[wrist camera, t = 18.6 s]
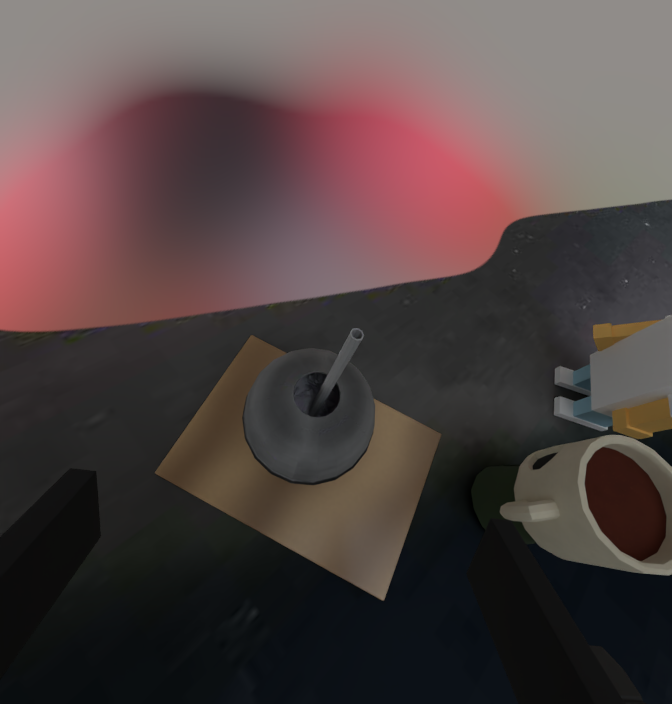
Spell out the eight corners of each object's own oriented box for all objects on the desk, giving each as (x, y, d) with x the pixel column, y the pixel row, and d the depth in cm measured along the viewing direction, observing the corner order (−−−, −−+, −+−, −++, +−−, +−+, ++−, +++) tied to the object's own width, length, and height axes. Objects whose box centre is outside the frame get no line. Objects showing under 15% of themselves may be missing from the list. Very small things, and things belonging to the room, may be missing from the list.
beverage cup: (237, 440, 29) (169, 331, 11) (306, 389, 32) (341, 233, 14) (291, 514, 27) (314, 527, 9) (358, 453, 30) (478, 372, 12)
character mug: (541, 454, 33) (685, 425, 21) (569, 539, 30) (753, 558, 19) (434, 467, 31) (528, 443, 19) (454, 559, 28) (578, 595, 17)
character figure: (576, 455, 34) (855, 408, 17) (523, 359, 37) (713, 244, 21) (634, 432, 36) (934, 370, 19) (578, 343, 39) (792, 226, 23)
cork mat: (156, 473, 28) (154, 473, 27) (251, 336, 34) (251, 334, 33) (382, 600, 26) (383, 601, 26) (439, 434, 32) (441, 434, 32)
